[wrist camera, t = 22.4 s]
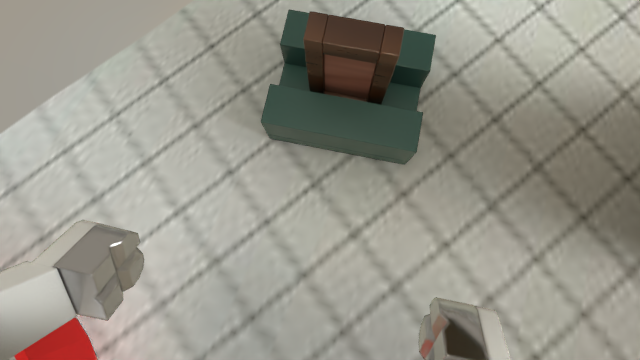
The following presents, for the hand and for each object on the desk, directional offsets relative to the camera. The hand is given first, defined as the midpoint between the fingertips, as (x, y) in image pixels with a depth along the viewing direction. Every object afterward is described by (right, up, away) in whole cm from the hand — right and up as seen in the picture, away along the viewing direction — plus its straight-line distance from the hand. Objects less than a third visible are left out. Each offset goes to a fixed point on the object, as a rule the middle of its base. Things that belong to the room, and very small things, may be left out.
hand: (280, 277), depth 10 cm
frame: (+3, +10, +21) cm, 24 cm away
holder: (+3, +10, +23) cm, 25 cm away
